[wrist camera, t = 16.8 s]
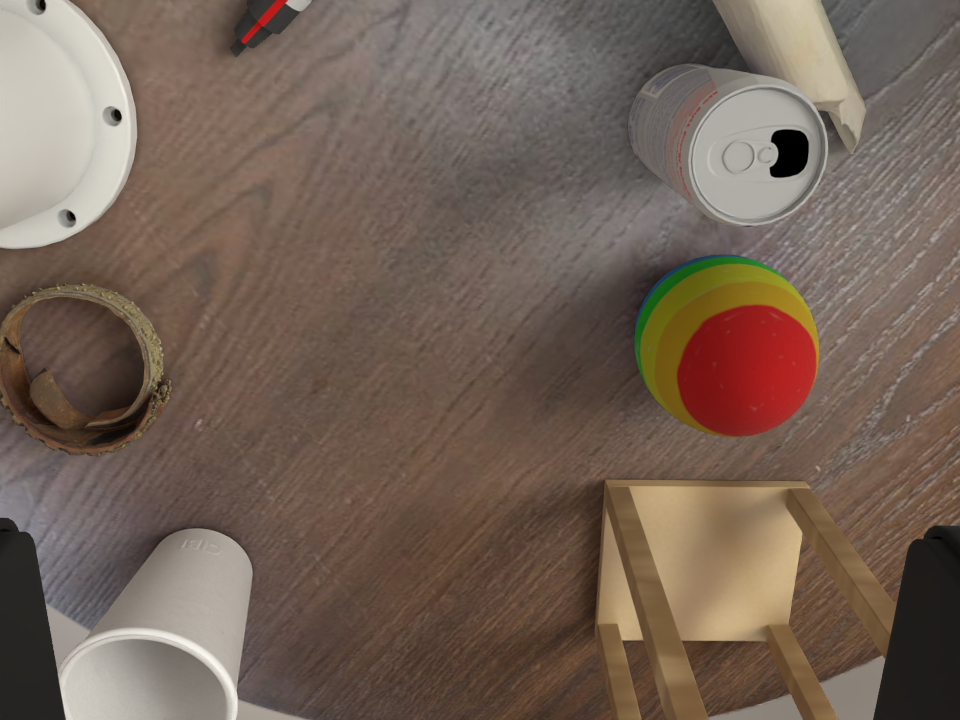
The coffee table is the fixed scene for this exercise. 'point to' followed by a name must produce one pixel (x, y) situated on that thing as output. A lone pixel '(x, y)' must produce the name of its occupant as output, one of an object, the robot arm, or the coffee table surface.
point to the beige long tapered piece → (798, 55)
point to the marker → (265, 21)
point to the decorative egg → (726, 345)
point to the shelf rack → (717, 583)
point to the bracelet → (47, 406)
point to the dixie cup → (167, 638)
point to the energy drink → (730, 141)
